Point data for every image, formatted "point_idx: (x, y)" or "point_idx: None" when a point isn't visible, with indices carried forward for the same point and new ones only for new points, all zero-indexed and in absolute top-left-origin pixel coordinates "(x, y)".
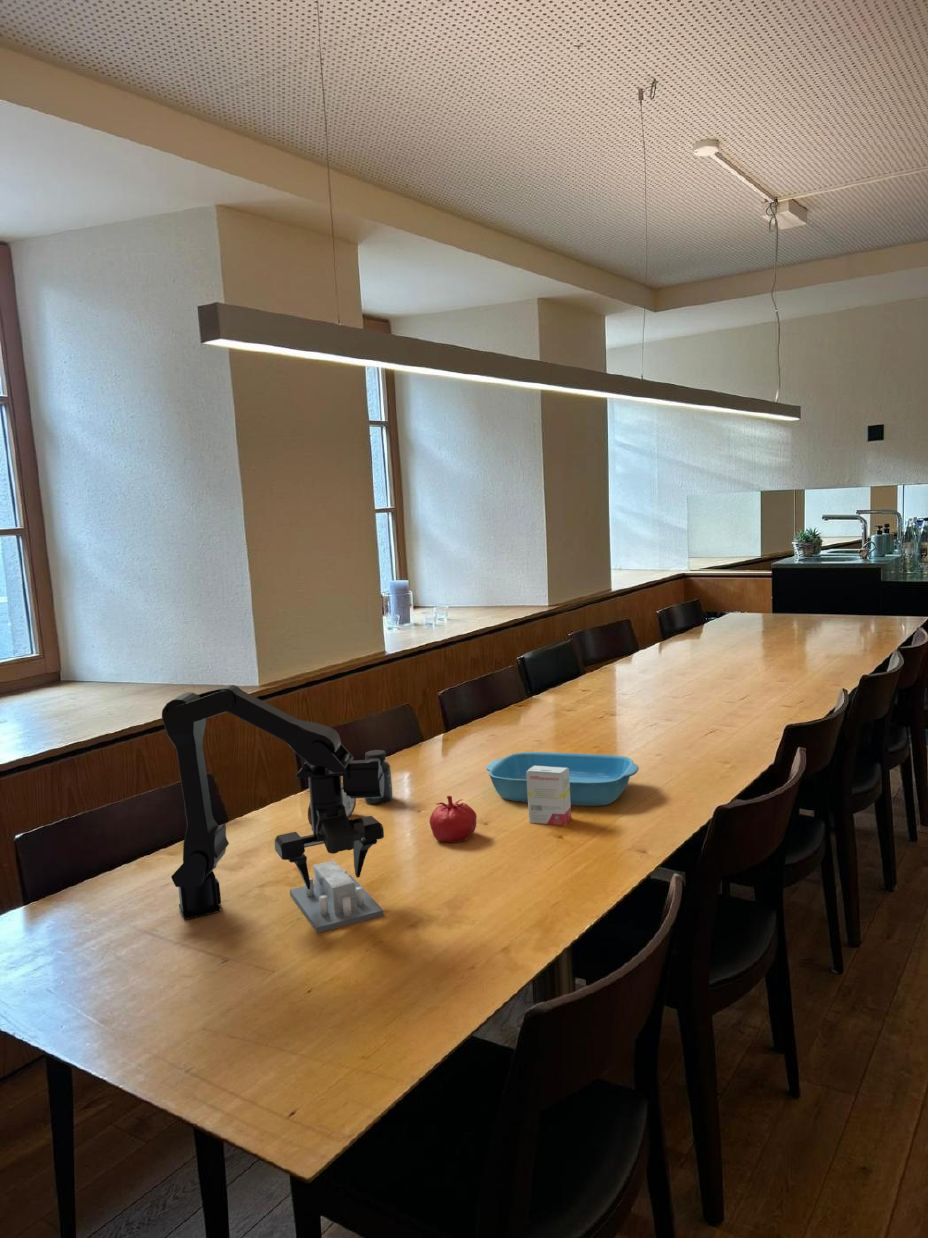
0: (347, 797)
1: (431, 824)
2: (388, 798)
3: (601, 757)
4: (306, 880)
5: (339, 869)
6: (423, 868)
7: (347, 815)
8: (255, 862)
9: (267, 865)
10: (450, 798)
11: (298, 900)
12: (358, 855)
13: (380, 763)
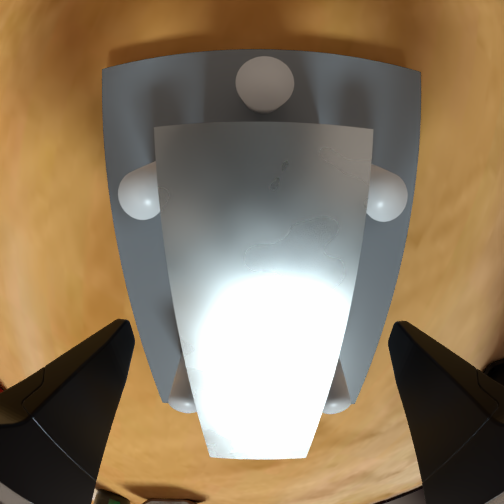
0: None
1: None
2: (100, 493)
3: None
4: (439, 347)
5: (208, 396)
6: (6, 334)
7: (152, 501)
8: (324, 483)
9: (314, 476)
10: None
11: (376, 340)
12: (55, 410)
13: None
